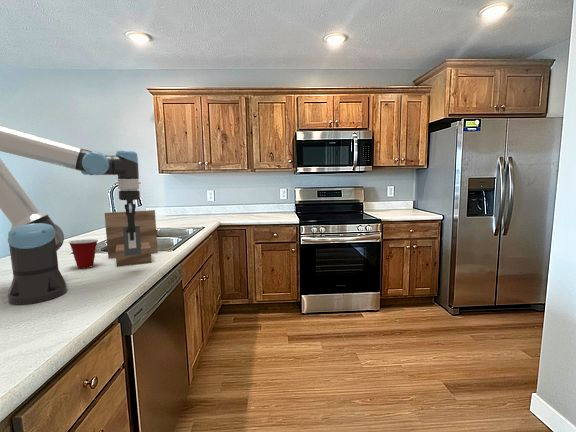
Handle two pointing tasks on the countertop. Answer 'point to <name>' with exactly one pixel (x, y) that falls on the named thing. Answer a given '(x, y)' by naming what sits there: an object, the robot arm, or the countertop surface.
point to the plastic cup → (84, 252)
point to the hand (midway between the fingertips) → (132, 247)
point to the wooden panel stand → (116, 237)
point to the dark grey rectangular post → (126, 244)
